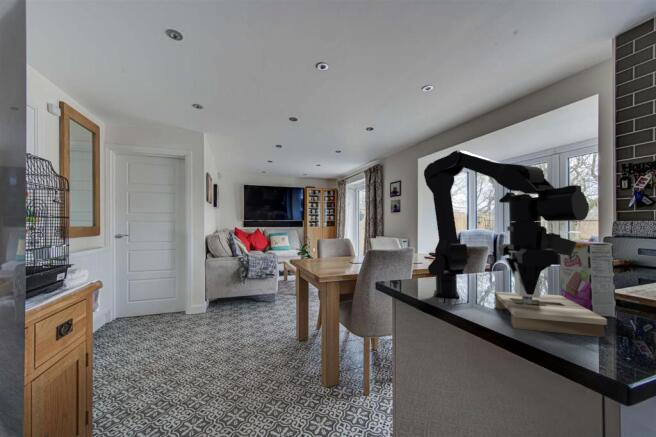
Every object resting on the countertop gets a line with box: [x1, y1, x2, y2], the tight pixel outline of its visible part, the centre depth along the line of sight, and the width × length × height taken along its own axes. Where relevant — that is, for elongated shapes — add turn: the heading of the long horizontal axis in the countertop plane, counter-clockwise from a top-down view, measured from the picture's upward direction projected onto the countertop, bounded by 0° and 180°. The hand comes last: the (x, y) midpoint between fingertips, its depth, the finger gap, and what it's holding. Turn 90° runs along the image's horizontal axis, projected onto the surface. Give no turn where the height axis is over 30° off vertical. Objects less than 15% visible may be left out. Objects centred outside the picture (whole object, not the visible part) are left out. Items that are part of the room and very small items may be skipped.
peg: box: [514, 270, 541, 305], centre depth 61 cm, size 4×4×10 cm
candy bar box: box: [559, 239, 617, 318], centre depth 67 cm, size 11×5×16 cm, turn 168°
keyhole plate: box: [494, 291, 608, 338], centre depth 60 cm, size 18×14×4 cm
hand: (527, 292), depth 61 cm, fingers closed on peg, 4 cm apart
